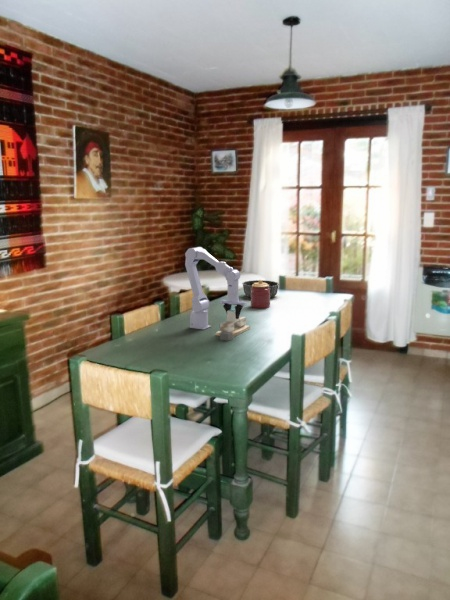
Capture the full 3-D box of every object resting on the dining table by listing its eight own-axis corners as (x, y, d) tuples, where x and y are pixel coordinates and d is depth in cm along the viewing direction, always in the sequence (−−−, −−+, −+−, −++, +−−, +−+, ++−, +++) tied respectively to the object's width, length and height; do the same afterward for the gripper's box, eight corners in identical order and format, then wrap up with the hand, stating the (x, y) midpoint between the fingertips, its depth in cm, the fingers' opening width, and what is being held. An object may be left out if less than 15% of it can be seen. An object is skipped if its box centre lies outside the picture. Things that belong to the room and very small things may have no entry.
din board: (215, 335, 256) (215, 323, 254) (234, 326, 273) (233, 315, 271) (232, 337, 251) (232, 325, 250) (250, 328, 268) (250, 317, 267)
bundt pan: (285, 295, 359) (285, 281, 357) (268, 301, 337) (268, 287, 335) (253, 292, 372) (253, 279, 370) (235, 298, 351) (235, 284, 349)
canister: (270, 308, 316) (271, 281, 312) (250, 308, 316) (250, 281, 312) (269, 304, 328) (269, 278, 325) (250, 304, 329) (250, 278, 325)
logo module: (227, 322, 259) (227, 310, 258) (231, 319, 264) (231, 308, 262) (234, 322, 257) (234, 311, 256) (239, 320, 261) (238, 309, 260)
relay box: (219, 339, 248) (219, 333, 247) (224, 337, 251) (224, 331, 250) (228, 341, 245) (228, 334, 245) (232, 339, 249) (232, 332, 248)
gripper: (217, 293, 258) (217, 318, 260) (241, 295, 251) (241, 321, 253) (223, 290, 264) (224, 315, 266) (248, 293, 257) (248, 318, 259)
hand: (233, 318), depth 260 cm, fingers closed on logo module, 4 cm apart
